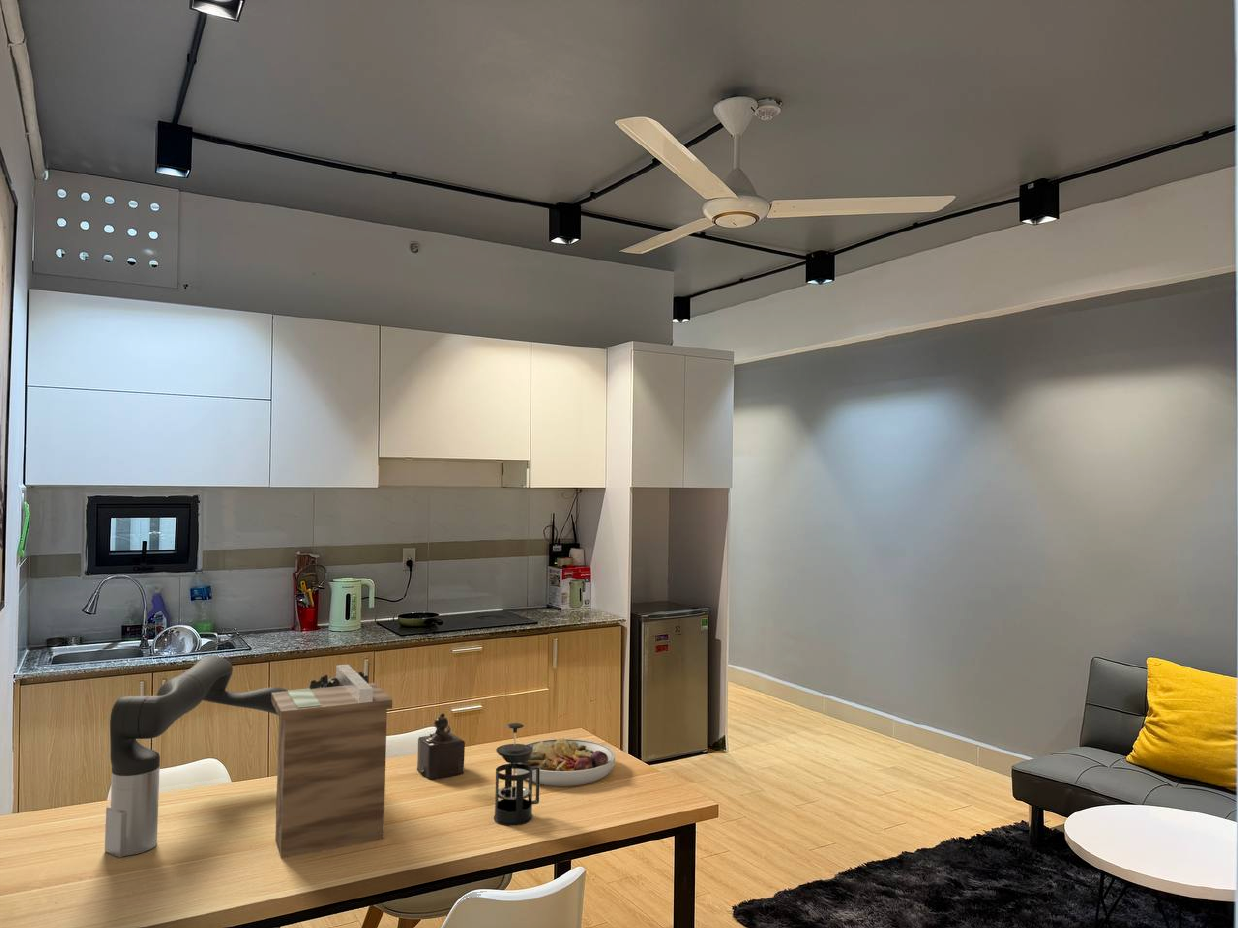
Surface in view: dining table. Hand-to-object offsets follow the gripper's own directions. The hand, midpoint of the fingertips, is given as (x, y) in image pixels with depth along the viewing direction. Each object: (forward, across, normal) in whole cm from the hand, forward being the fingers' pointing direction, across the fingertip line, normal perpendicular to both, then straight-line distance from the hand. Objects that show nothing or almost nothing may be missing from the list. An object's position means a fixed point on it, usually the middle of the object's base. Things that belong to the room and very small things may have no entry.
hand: (343, 676), depth 211 cm
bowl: (-16, +62, +29) cm, 70 cm away
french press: (+7, +37, +42) cm, 56 cm away
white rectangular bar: (+10, 0, +6) cm, 12 cm away
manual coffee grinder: (-26, +30, +23) cm, 46 cm away
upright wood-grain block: (-2, -6, +36) cm, 37 cm away
